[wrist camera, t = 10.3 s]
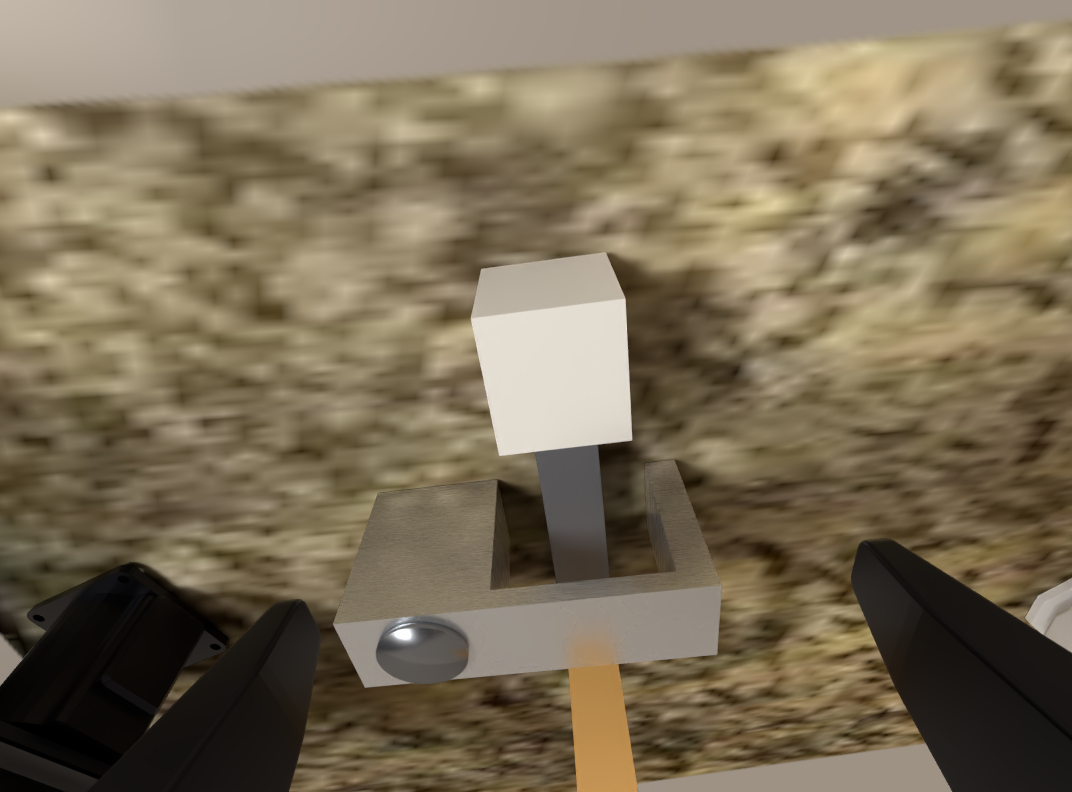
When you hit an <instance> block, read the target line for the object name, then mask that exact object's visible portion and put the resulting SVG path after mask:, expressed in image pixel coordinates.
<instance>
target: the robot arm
mask: <svg viewBox="0 0 1072 792" xmlns="http://www.w3.org/2000/svg"><path fill="white" fill-rule="evenodd" d="M851 582H852V587H853V590H854V593H855V595H856V597H857V600H858V602H859V604H860V607H861V609H862V611H863V614H864V616H865V619H866V621H867V623H868V626H869V628H870V630H871V633H872V635H873V637H874V640H875V642H876V644H877V647H878V649H879V651H880V654H881V656H882V658H883V661H884V663H885V666H886V668H887V670H888V672H889V675H890V677H891V679H892V681H893V683H894V686H895V688H896V689H897V691H898V693H899V695H900V697H901V699H902V701H903V703H904V705H905V706H906V708H907V710H908V712H909V714H910V716H911V717H912V719H913V721H914V723H915V725H916V726H917V728H918V730H919V732H920V734H921V736H922V737H923V739H924V741H925V743H926V745H927V746H928V748H929V750H930V752H931V754H932V756H933V757H934V759H935V761H936V763H937V765H938V766H939V768H940V770H941V772H942V774H943V775H944V777H945V779H946V781H947V783H948V785H949V786H950V788H951V790H952V792H1072V652H1070V651H1068V650H1067V649H1065V648H1064V647H1062V646H1060V645H1059V644H1057V643H1056V642H1054V641H1053V640H1051V639H1049V638H1048V637H1046V636H1045V635H1043V634H1041V633H1040V632H1038V631H1037V630H1035V629H1034V628H1032V627H1030V626H1029V625H1027V624H1026V623H1024V622H1022V621H1021V620H1019V619H1018V618H1016V617H1014V616H1013V615H1011V614H1010V613H1008V612H1007V611H1005V610H1003V609H1002V608H1000V607H999V606H997V605H995V604H994V603H992V602H991V601H989V600H988V599H986V598H984V597H983V596H981V595H980V594H978V593H976V592H975V591H973V590H972V589H970V588H969V587H967V586H965V585H964V584H962V583H961V582H959V581H957V580H956V579H954V578H953V577H951V576H950V575H948V574H946V573H945V572H943V571H942V570H940V569H938V568H937V567H935V566H934V565H932V564H930V563H929V562H927V561H926V560H924V559H923V558H921V557H919V556H918V555H916V554H915V553H913V552H911V551H910V550H908V549H907V548H905V547H904V546H902V545H900V544H899V543H897V542H896V541H894V540H891V539H888V538H880V539H870V540H864V541H862V542H861V543H860V544H859V546H858V549H857V553H856V557H855V562H854V566H853V570H852V574H851ZM27 617H28V619H29V620H30V621H31V622H33V623H35V624H36V625H38V626H39V627H41V628H42V629H44V630H46V632H45V633H44V635H43V636H42V637H41V638H40V639H39V641H38V642H37V643H36V644H35V645H34V647H33V648H32V649H31V650H30V651H29V652H28V654H27V655H26V656H25V657H24V658H23V660H22V661H21V662H20V663H19V664H18V665H17V667H16V668H15V669H14V670H13V671H12V673H11V674H10V675H9V676H8V677H7V679H6V680H5V681H4V682H3V683H2V685H1V686H0V792H289V790H290V786H291V783H292V779H293V775H294V772H295V768H296V765H297V761H298V758H299V754H300V750H301V746H302V742H303V738H304V733H305V728H306V723H307V717H308V711H309V706H310V700H311V694H312V689H313V683H314V677H315V672H316V666H317V660H318V654H319V649H320V642H321V636H320V630H319V627H318V625H317V624H316V622H315V620H314V618H313V616H312V614H311V612H310V610H309V608H308V607H307V605H306V603H305V602H304V601H303V600H301V599H292V600H282V601H278V602H276V603H275V604H273V605H272V606H271V607H270V608H269V609H268V610H267V611H266V612H265V613H264V614H263V615H262V616H261V617H260V618H259V619H258V620H257V621H256V622H255V623H254V624H253V625H252V626H251V627H250V628H249V629H248V630H247V631H246V632H245V633H244V634H243V635H242V636H241V637H240V638H239V639H238V640H237V641H236V642H235V643H234V644H233V645H232V646H231V647H230V648H229V649H228V650H227V651H226V652H225V653H224V654H223V655H222V656H221V657H220V658H219V659H218V660H217V661H216V662H215V663H214V664H213V665H212V666H211V667H210V668H209V669H208V670H207V671H206V672H205V673H204V674H203V675H202V676H201V677H200V678H199V679H198V680H197V681H196V682H195V683H194V684H193V685H192V686H191V687H190V688H189V689H188V690H187V691H186V692H185V693H184V694H183V695H182V696H181V697H180V698H179V699H178V700H177V701H176V703H175V704H174V705H173V706H172V707H171V708H170V709H169V710H168V711H167V712H166V713H165V714H164V715H163V716H162V717H161V718H160V719H159V720H158V721H157V722H156V723H155V724H154V725H153V726H152V727H151V728H150V729H149V730H148V728H149V726H150V724H151V723H152V721H153V719H154V717H155V715H156V714H157V712H158V711H159V710H160V708H161V707H162V705H163V703H164V701H165V700H166V698H167V696H168V694H169V693H170V691H171V689H172V687H173V685H174V684H175V682H176V680H177V678H178V677H179V675H180V673H181V671H182V670H183V668H184V667H187V666H189V665H192V664H195V663H197V662H200V661H202V660H205V659H207V658H210V657H212V656H215V655H218V654H220V653H223V652H224V651H225V650H226V648H227V646H228V644H229V642H230V640H229V638H228V637H227V636H226V635H224V634H223V633H222V632H220V631H219V630H218V629H216V628H215V627H214V626H212V625H211V624H210V623H208V622H207V621H206V620H204V619H203V618H202V617H200V616H199V615H198V614H197V613H195V612H194V611H193V610H191V609H190V608H189V607H187V606H186V605H185V604H183V603H182V602H181V601H179V600H178V599H177V598H175V597H174V596H173V595H172V594H170V593H169V592H168V591H166V590H165V589H164V588H162V587H161V586H160V585H158V584H157V583H156V582H154V581H153V580H152V579H150V578H149V577H148V576H147V575H145V574H144V573H143V572H141V571H140V570H139V569H137V568H135V567H134V566H131V565H121V566H118V567H116V568H114V569H112V570H110V571H107V572H105V573H103V574H101V575H99V576H97V577H95V578H92V579H90V580H88V581H86V582H84V583H82V584H79V585H77V586H75V587H73V588H71V589H69V590H67V591H64V592H62V593H60V594H58V595H56V596H54V597H51V598H49V599H47V600H45V601H43V602H41V603H38V604H36V605H35V606H34V607H33V608H32V609H31V610H30V611H29V612H28V613H27ZM147 730H148V731H147ZM146 731H147V732H146Z"/></svg>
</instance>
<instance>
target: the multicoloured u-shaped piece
mask: <svg viewBox="0 0 1072 792" xmlns="http://www.w3.org/2000/svg"><path fill="white" fill-rule="evenodd" d="M471 321H472V326H473V331H474V336H475V341H476V345H477V350H478V355H479V360H480V365H481V369H482V374H483V379H484V384H485V389H486V394H487V398H488V403H489V408H490V413H491V418H492V422H493V427H494V432H495V437H496V442H497V447H498V451H499V456H502V455H511V454H519V453H528V452H535V454H536V460H537V467H538V473H539V479H540V485H541V491H542V497H543V503H544V509H545V515H546V521H547V527H548V533H549V540H550V546H551V552H552V558H553V564H554V570H555V576H556V582H557V583H566V582H576V581H586V580H596V579H606V578H610V576H609V565H608V554H607V543H606V531H605V520H604V509H603V498H602V487H601V475H600V464H599V453H598V444H606V443H615V442H623V441H632V424H631V403H630V382H629V362H628V341H627V321H626V300H625V296H624V294H623V292H622V289H621V287H620V285H619V282H618V280H617V278H616V275H615V273H614V270H613V268H612V266H611V263H610V261H609V259H608V256H607V254H606V252H604V253H596V254H589V255H581V256H574V257H566V258H559V259H551V260H544V261H536V262H529V263H521V264H514V265H507V266H499V267H492V268H484V269H481V273H480V278H479V283H478V287H477V292H476V297H475V301H474V306H473V311H472V316H471ZM569 681H570V695H571V709H572V723H573V737H574V750H575V764H576V778H577V792H638V789H637V782H636V776H635V770H634V763H633V757H632V750H631V744H630V737H629V731H628V724H627V718H626V711H625V705H624V699H623V692H622V686H621V679H620V673H619V666H618V664H612V665H601V666H590V667H580V668H569Z"/></svg>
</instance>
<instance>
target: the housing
mask: <svg viewBox="0 0 1072 792" xmlns="http://www.w3.org/2000/svg"><path fill="white" fill-rule="evenodd" d="M645 490H646V519H647V529H648V533H649V536H650V540H651V544H652V548H653V552H654V555H655V559H656V563H657V567H658V571H659V573H654V574H645V575H635V576H625V577H615V578H606V579H596V580H586V581H576V582H566V583H557V584H547V585H537V586H527V587H518V588H509V574H510V541H511V540H510V536H509V531H508V527H507V522H506V517H505V513H504V508H503V503H502V499H501V494H500V490H499V485H498V480H490V481H482V482H473V483H464V484H455V485H446V486H437V487H428V488H420V489H411V490H402V491H393V492H384V493H378V494H377V497H376V500H375V503H374V506H373V509H372V512H371V515H370V518H369V521H368V523H367V526H366V529H365V532H364V535H363V538H362V541H361V544H360V547H359V550H358V553H357V556H356V559H355V561H354V564H353V567H352V570H351V573H350V576H349V579H348V582H347V585H346V588H345V591H344V594H343V597H342V599H341V602H340V605H339V608H338V611H337V614H336V617H335V620H334V623H333V625H334V627H335V629H336V631H337V633H338V635H339V637H340V639H341V641H342V643H343V645H344V647H345V649H346V651H347V653H348V655H349V657H350V659H351V661H352V663H353V665H354V667H355V669H356V671H357V673H358V675H359V677H360V679H361V681H362V683H363V685H364V687H365V688H367V687H377V686H388V685H399V684H409V683H415V684H435V683H441V682H445V681H448V680H452V679H463V678H473V677H484V676H495V675H505V674H516V673H526V672H537V671H548V670H558V669H569V668H580V667H590V666H601V665H612V664H622V663H633V662H644V661H654V660H665V659H676V658H686V657H697V656H708V655H717V649H718V634H719V620H720V605H721V590H722V585H721V582H720V579H719V577H718V574H717V571H716V569H715V566H714V563H713V561H712V558H711V555H710V553H709V550H708V547H707V545H706V542H705V539H704V537H703V534H702V531H701V529H700V526H699V523H698V521H697V518H696V515H695V513H694V510H693V508H692V505H691V502H690V500H689V497H688V494H687V492H686V489H685V486H684V484H683V481H682V478H681V476H680V473H679V470H678V468H677V465H676V462H675V460H667V461H659V462H650V463H645Z"/></svg>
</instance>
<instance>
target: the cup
mask: <svg viewBox="0 0 1072 792" xmlns="http://www.w3.org/2000/svg"><path fill="white" fill-rule="evenodd" d="M1025 618H1026V620H1027V621H1028V622H1029V623H1030V624H1031V625H1032V626H1033V627H1034V628H1036V629H1037V630H1038V631H1039V632H1040V633H1041V634H1043V635H1045V636H1046V637H1048V638H1049V639H1051V640H1053V641H1054V642H1056V643H1057V644H1059V645H1060V646H1062V647H1064V648H1065V649H1067V650H1068V651H1070V652H1072V578H1071V579H1069V580H1067V581H1065V582H1063V583H1061V584H1059V585H1057V586H1055V587H1054V588H1052V589H1050V590H1048V591H1046V592H1044V593H1042V594H1040V595H1038V596H1037V598H1036V600H1035V601H1034V603H1033V605H1032V607H1031V608H1030V610H1029V612H1028V613H1027V615H1026V617H1025Z"/></svg>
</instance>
